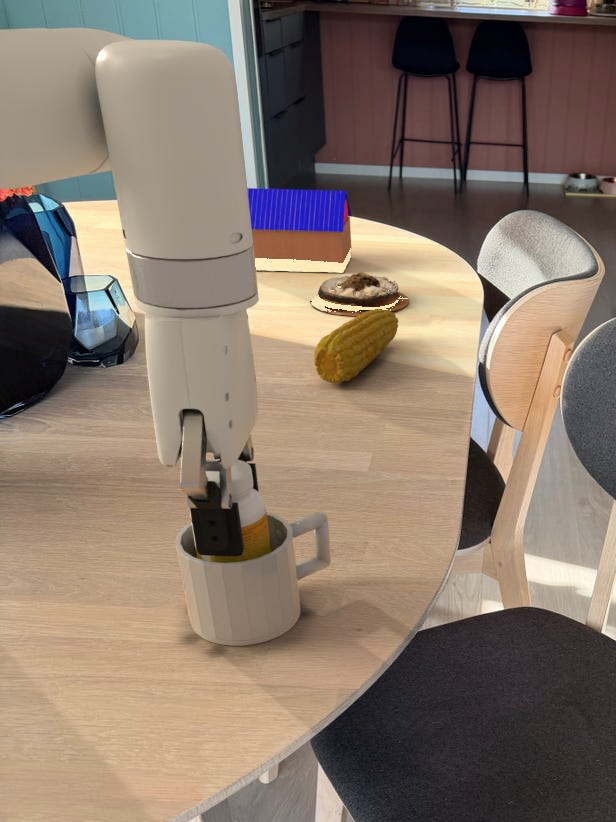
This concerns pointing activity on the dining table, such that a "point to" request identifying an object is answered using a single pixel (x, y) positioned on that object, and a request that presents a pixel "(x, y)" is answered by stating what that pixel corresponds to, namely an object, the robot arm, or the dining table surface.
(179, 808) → the dining table surface
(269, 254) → the house
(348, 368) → the food
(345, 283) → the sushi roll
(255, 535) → the supplement bottle
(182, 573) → the coffee mug
